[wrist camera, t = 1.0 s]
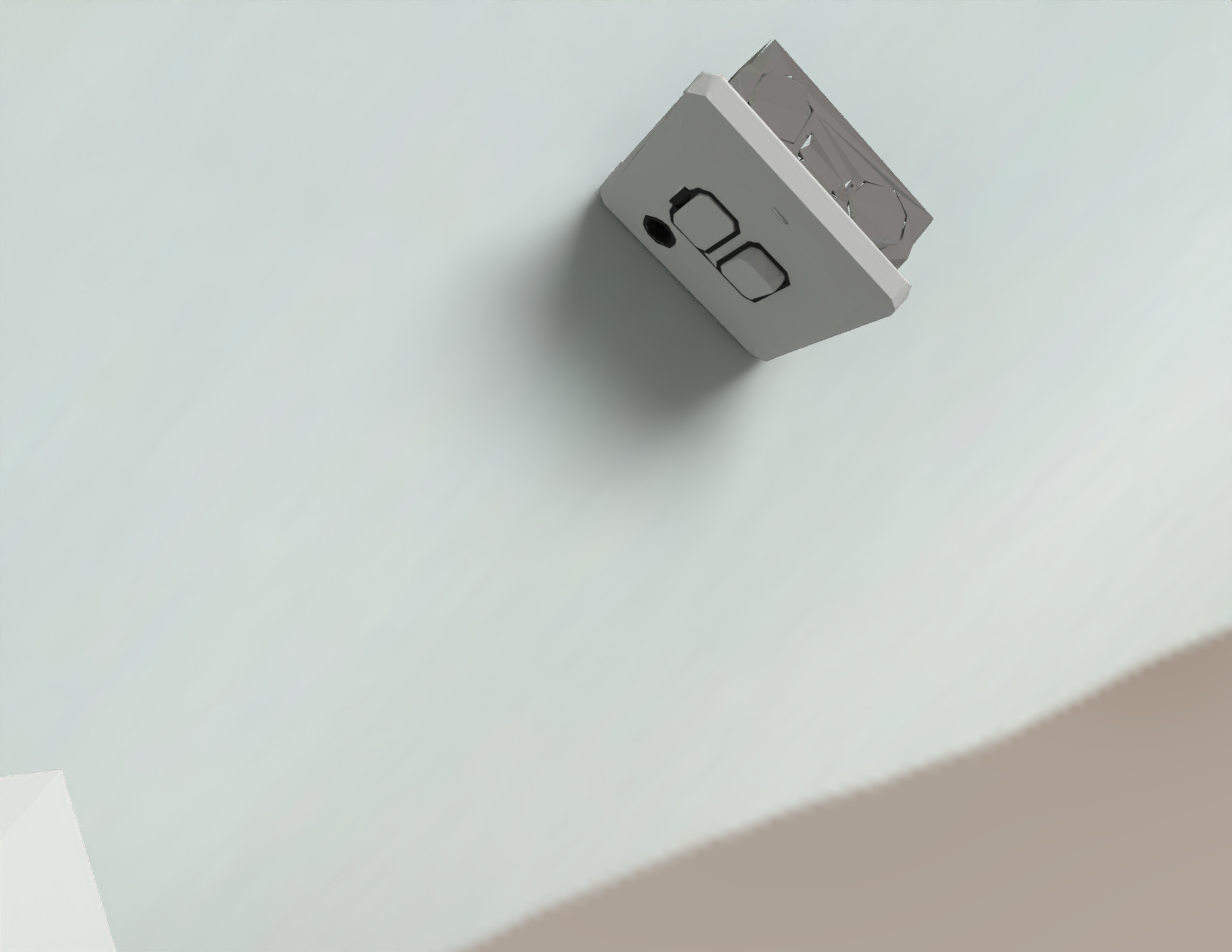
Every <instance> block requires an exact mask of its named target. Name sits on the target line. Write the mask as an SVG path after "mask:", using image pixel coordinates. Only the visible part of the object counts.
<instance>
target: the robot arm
mask: <svg viewBox="0 0 1232 952" xmlns="http://www.w3.org/2000/svg"><path fill="white" fill-rule="evenodd" d="M0 952H116V948H115V945H114V942H113V938H112V935H111V932H110V928H109V925H108V922H107V918H106V915H105V912H104V908H103V905H102V902H101V898H100V895H99V892H98V888H97V885H96V881H95V878H94V875H93V871H92V868H91V865H90V861H89V858H88V855H87V851H86V848H85V845H84V841H83V838H82V835H81V831H80V828H79V825H78V821H77V818H76V815H75V811H74V808H73V805H72V801H71V798H70V795H69V791H68V788H67V785H66V781H65V778H64V774H63V771H62V769H60V770H52V771H43V772H35V773H27V774H19V775H11V776H3V777H0Z"/></svg>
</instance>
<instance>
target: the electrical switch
mask: <svg viewBox="0 0 1232 952" xmlns="http://www.w3.org/2000/svg"><path fill="white" fill-rule="evenodd" d="M770 41H771V40H770ZM770 41H769V42H770ZM769 42H768V43H769ZM768 43H767V44H768ZM767 44H766V45H767ZM766 45H765V46H764V47H763V48H762V49H761V50H760V51H759V52H757V53H756V54H755V55H754V56H753V57H752V58H751V59H750V60H749V61H748V62H747V63H746V64H745V65H743V66H742V67H741V68H740V69H739V70H738V71H737V72H736V73H735V74H734V75H733V77H732V78H731V79H730V80H729V81H727V80H726V79H725V78H724V77H723V76H722V75H718V74H713V73H707V72H702V73H701V74H699V75H698V76H697V77H696V79H695V80H694V81H693V82H692V83H691V84H690V85H689V87H688V88H687V89H686V90H685V91H684V92H683V93H684V94H683V96H682V97H681V98H680V99H679V100H678V101H677V102H676V103H675V104H674V106H673V107H672V108H671V109H670V110H669V111H668V112H667V113H666V115H665V116H664V117H663V118H662V119H661V120H660V121H659V122H658V123H657V125H656V126H655V127H654V128H653V129H652V130H651V131H650V132H649V133H648V135H647V136H646V137H645V138H644V139H643V140H642V141H641V142H640V144H639V145H638V146H637V147H636V148H635V149H634V150H633V151H632V152H631V154H630V155H629V156H628V157H627V158H626V159H625V160H624V161H623V162H621V163H620V164H619V165H618V166H617V167H616V169H615V170H614V171H613V172H612V173H611V174H610V175H609V177H608V178H607V179H606V180H605V182H604V183H603V184H602V185H601V187H600V188H599V192H600V195H601V198H602V201H603V203H604V205H605V206H606V207H607V208H608V209H609V210H610V211H611V212H612V213H613V214H614V215H615V216H616V217H617V218H618V219H619V220H620V221H621V222H622V223H623V224H624V225H625V226H626V227H627V228H628V229H629V230H630V231H631V232H632V233H633V235H634V236H635V237H636V238H637V239H638V240H639V241H640V242H641V243H642V244H643V245H644V246H645V247H646V248H647V249H648V250H649V251H650V252H651V253H652V254H653V255H654V256H655V257H656V258H657V259H658V260H659V261H660V262H661V263H662V264H663V265H664V266H665V267H666V268H667V269H668V270H669V271H670V272H671V273H672V274H673V275H674V276H675V277H676V278H677V279H678V280H679V281H680V282H681V284H682V285H683V286H684V287H685V288H686V289H687V290H688V291H689V292H690V293H691V294H692V295H693V296H694V297H695V298H696V299H697V300H698V301H699V302H700V303H701V304H702V305H703V306H704V307H705V308H706V309H707V310H708V311H709V312H710V313H711V314H712V315H713V316H714V317H715V318H716V319H717V320H718V321H719V322H720V323H721V324H722V325H723V326H724V327H725V328H726V329H727V330H728V331H729V333H730V334H731V335H732V336H733V337H734V338H735V339H736V340H737V341H738V342H739V343H740V344H741V345H742V346H743V347H744V348H745V349H746V350H747V351H748V352H749V353H750V354H751V355H753V356H754V357H756V358H758V359H761V360H764V361H769V360H771V359H774V358H776V357H779V356H781V355H784V354H787V353H789V352H792V351H795V350H797V349H800V348H803V347H806V346H808V345H811V344H814V343H817V342H819V341H822V340H825V339H828V338H830V337H833V336H836V335H839V334H841V333H844V332H847V331H850V330H852V329H855V328H858V327H860V326H863V325H866V324H869V323H871V322H874V321H877V320H880V319H882V318H885V317H888V316H891V315H892V314H893V313H894V312H895V310H896V309H897V308H898V307H899V306H900V305H901V304H902V303H903V302H904V300H905V299H906V298H907V296H908V294H909V291H910V289H911V284H910V283H909V282H908V281H907V280H906V279H905V278H904V277H903V276H902V274H901V273H900V272H899V271H898V270H897V269H898V268H899V267H900V266H901V265H902V264H903V263H904V262H905V261H906V260H907V259H908V256H909V254H910V251H911V248H912V246H913V244H914V243H915V242H916V240H917V239H918V238H919V237H920V235H921V234H922V233H923V232H924V230H925V229H926V228H927V227H928V225H929V224H930V223H931V222H932V220H933V218H932V216H931V215H930V214H929V213H928V212H927V211H926V210H925V208H924V207H923V206H922V205H921V204H920V203H919V202H918V201H917V199H916V198H915V197H914V196H913V195H912V194H911V193H910V191H909V190H908V189H907V188H906V187H905V186H904V185H903V184H902V182H901V181H900V180H899V179H898V178H897V177H896V176H895V175H894V173H893V172H892V171H891V170H890V169H889V168H888V167H887V165H886V164H885V163H884V162H883V161H882V160H881V159H880V158H879V156H878V155H877V154H876V153H875V152H874V151H873V150H872V148H871V147H870V146H869V145H868V144H867V143H866V142H865V141H864V139H863V138H862V137H861V136H860V135H859V134H858V133H857V132H856V130H855V129H854V128H853V127H852V126H851V125H850V124H849V122H848V121H847V120H846V119H845V118H844V117H843V116H842V115H841V113H840V112H839V111H838V110H837V109H836V108H835V107H834V105H833V104H832V103H831V102H830V101H829V100H828V99H827V98H826V96H825V95H824V94H823V93H822V92H821V91H820V90H819V89H818V87H817V86H816V85H815V84H814V83H813V82H812V81H811V79H810V78H809V77H808V76H807V75H806V74H805V73H804V72H803V70H802V69H801V68H800V67H799V66H798V65H797V64H796V62H795V61H794V60H793V59H792V58H791V57H790V56H789V55H788V53H787V52H786V51H785V50H784V49H783V48H782V47H781V45H780V44H779V43H778V42H777V41H776V40H774V41H773V42H772V43H771V44H770V45H769V46H768V47H767V48H766V49H765V50H764V51H763V52H762V53H761V51H762V50H763V49H764V48H765V47H766ZM760 53H761V54H760ZM759 54H760V55H759ZM758 55H759V56H758ZM757 56H758V57H757ZM756 57H757V58H756ZM788 76H792V78H790V77H788ZM747 101H748V102H747ZM809 104H810V105H809ZM810 134H811V135H812V136H811V141H810V145H809V146H807V147H805V148H803V149H800V148H801V147H802V146H803V144H804V143H805V141H806V140H807V139H808V137H809V136H810ZM797 156H799V157H801V159H800V161H801V160H802V159H804V161H801V162H800V161H799V159H798V157H797ZM850 180H851V182H850V183H849V184H848V186H847V187H846V188H845V183H847V182H848V181H850ZM862 183H864V184H863V185H862V186H860V185H861V184H862ZM894 190H895V192H896V194H895V192H894ZM831 193H832V194H833V195H835V196H836V197H837V198H836V197H835V196H833V195H832V194H831ZM896 195H897V196H896ZM848 205H849V206H850V217H851V218H850V217H849V213H848ZM904 221H905V222H906V223H905V226H904ZM903 226H904V228H903Z"/></svg>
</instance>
